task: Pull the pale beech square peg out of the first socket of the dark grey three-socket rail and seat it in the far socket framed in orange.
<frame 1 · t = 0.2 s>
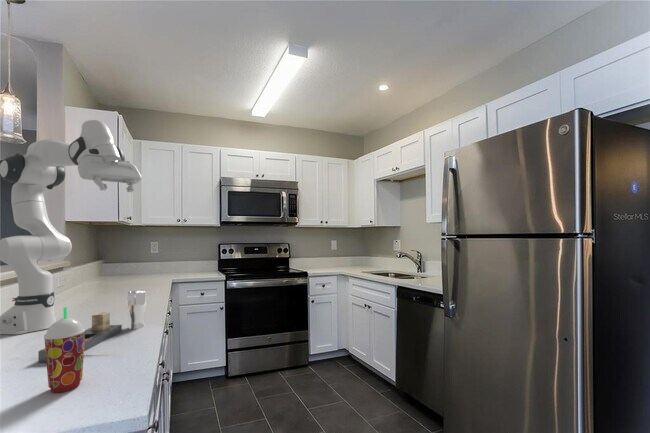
hand: (117, 190, 121), 54 cm above the counter, tool tilted 30°, fingers open, 8 cm apart
beer glass: (137, 329, 137), on the counter
beech peg: (101, 335, 126), point 1 cm above the counter, touching socket rail
socket rail: (84, 346, 117), on the counter
smoothie: (65, 388, 86), on the counter
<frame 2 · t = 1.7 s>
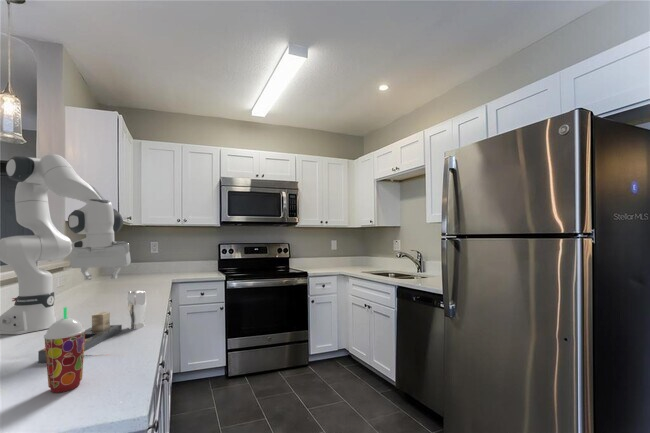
hand: (101, 279, 127), 22 cm above the counter, tool pointing down, fingers open, 8 cm apart
nothing on the counter moved.
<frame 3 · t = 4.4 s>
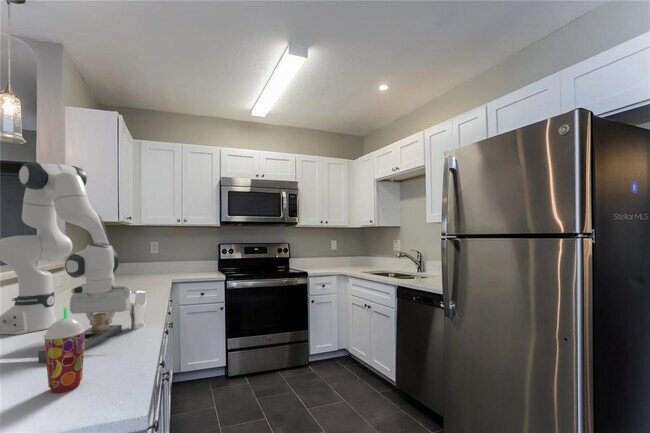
hand: (100, 324, 126), 5 cm above the counter, tool pointing down, fingers closed on beech peg, 4 cm apart
beech peg: (101, 335, 126), point 1 cm above the counter, touching gripper, socket rail
everything else where it was.
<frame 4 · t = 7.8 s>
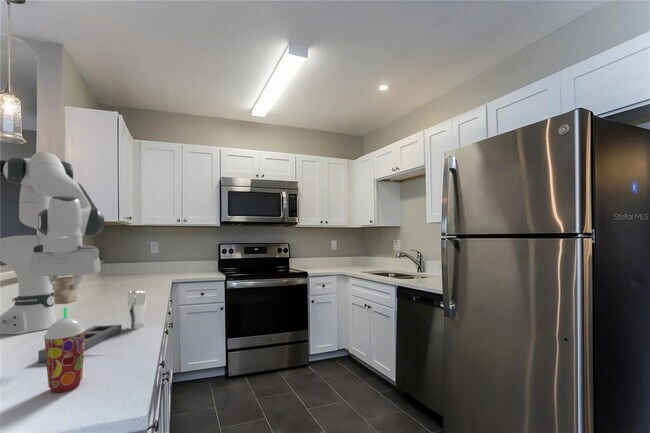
hand: (65, 289, 109), 21 cm above the counter, tool pointing down, fingers closed on beech peg, 4 cm apart
beech peg: (65, 302, 109), point 17 cm above the counter, touching gripper
everything else where it was.
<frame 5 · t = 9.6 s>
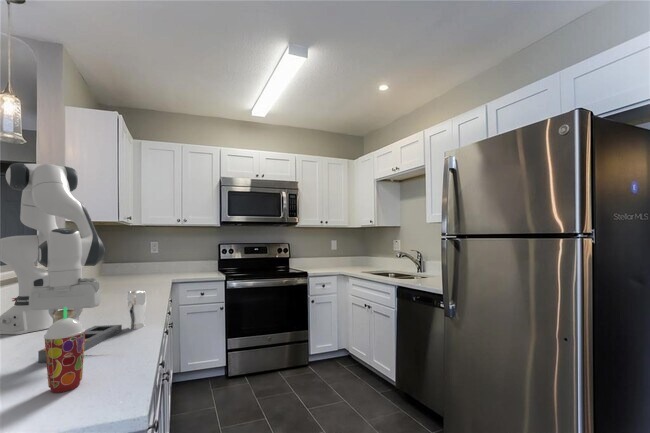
hand: (65, 322, 109), 11 cm above the counter, tool pointing down, fingers closed on beech peg, 4 cm apart
beech peg: (66, 335, 108), point 7 cm above the counter, touching gripper
everything else where it was.
when the fingers open (6 cm above the counter, at t = 11.3 s): beech peg stays where it is, resting on socket rail.
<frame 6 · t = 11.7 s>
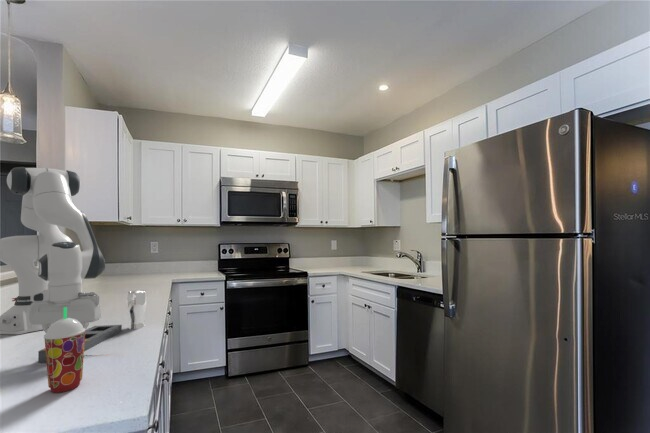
hand: (65, 337, 109), 6 cm above the counter, tool pointing down, fingers open, 8 cm apart
beech peg: (65, 353, 108), point 1 cm above the counter, touching socket rail
everything else where it was.
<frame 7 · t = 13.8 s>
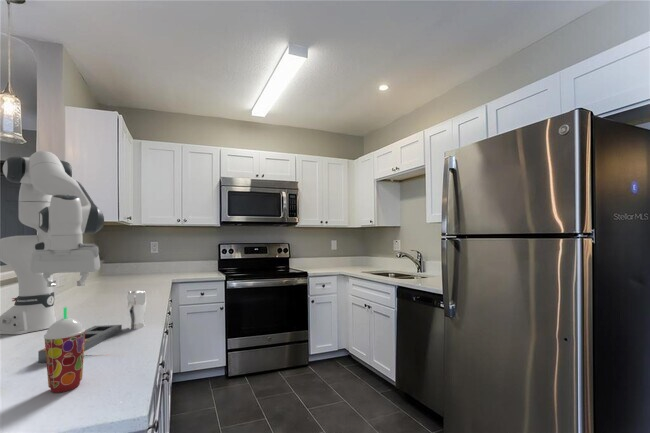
hand: (66, 286, 112), 22 cm above the counter, tool pointing down, fingers open, 8 cm apart
nothing on the counter moved.
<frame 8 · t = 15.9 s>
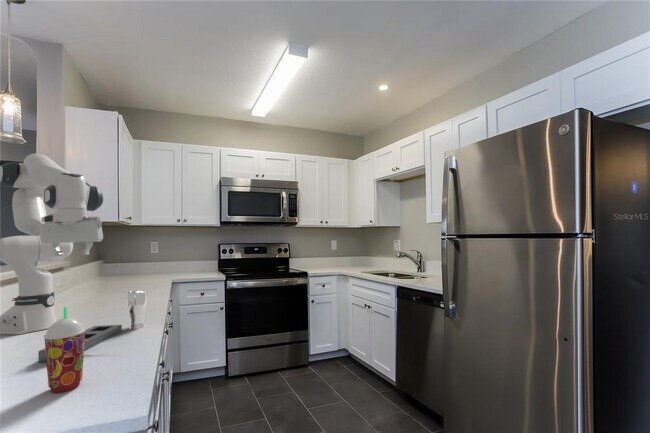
hand: (72, 255, 124), 31 cm above the counter, tool pointing down, fingers open, 8 cm apart
nothing on the counter moved.
at the end: beech peg 0.1 cm from the target spot on the socket rail, point 1.0 cm above the socket rail's base; beech peg tilted 0°; the gripper is holding nothing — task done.
